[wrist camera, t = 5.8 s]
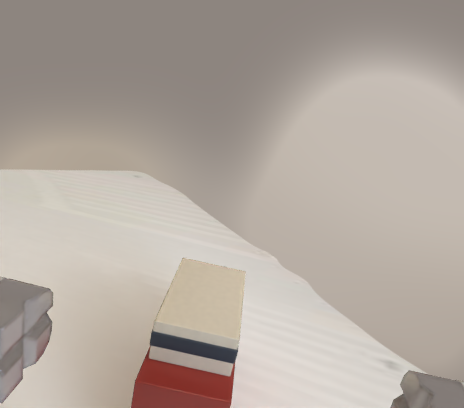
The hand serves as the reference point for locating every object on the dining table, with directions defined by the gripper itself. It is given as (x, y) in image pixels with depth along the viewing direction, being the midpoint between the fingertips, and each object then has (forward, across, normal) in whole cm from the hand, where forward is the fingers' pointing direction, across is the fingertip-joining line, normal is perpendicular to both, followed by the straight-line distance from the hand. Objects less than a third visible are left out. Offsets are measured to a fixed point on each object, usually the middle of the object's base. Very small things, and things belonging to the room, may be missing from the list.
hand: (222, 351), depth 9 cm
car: (+14, +1, +17) cm, 22 cm away
